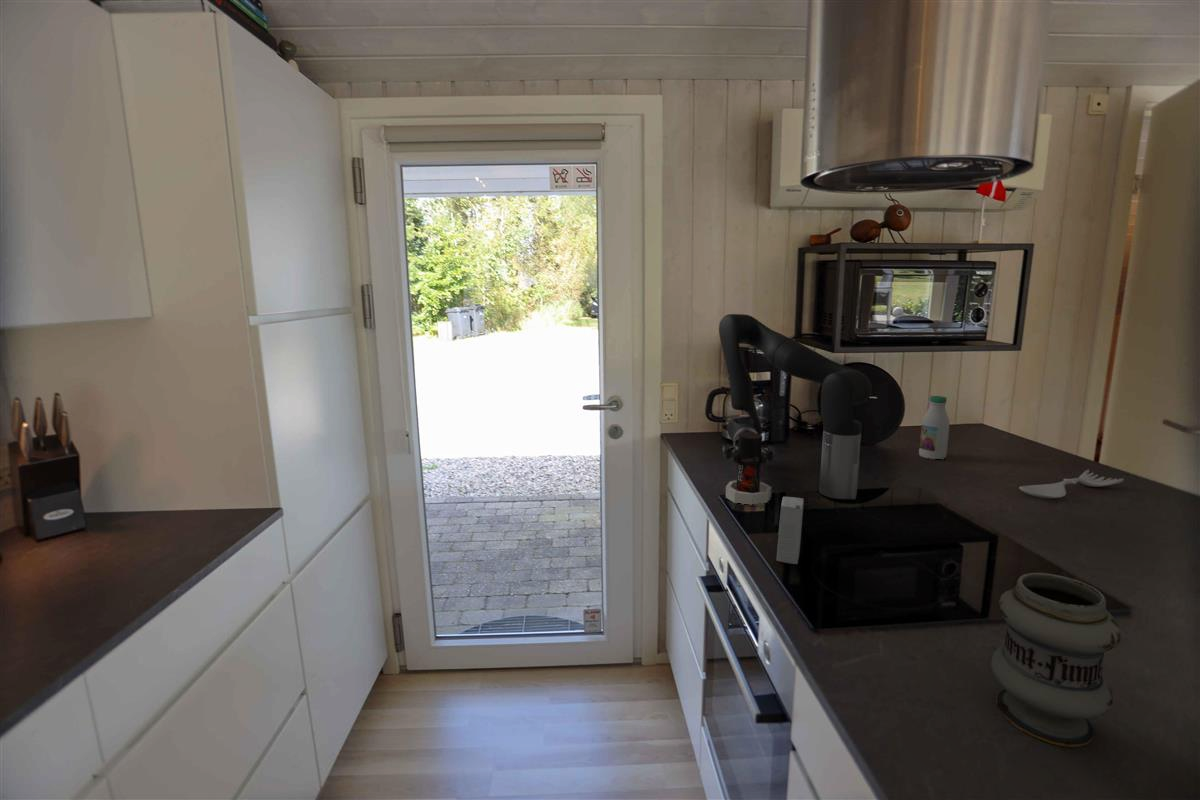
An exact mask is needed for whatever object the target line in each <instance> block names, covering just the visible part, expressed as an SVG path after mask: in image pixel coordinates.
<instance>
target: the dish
mask: <svg viewBox="0 0 1200 800" xmlns="http://www.w3.org/2000/svg"><path fill="white" fill-rule="evenodd" d="M736 488H737V480H730V481H729V482H728V483H727V485H726V486H725V498H726V499H728V500H729V501H731V502H733V503H734V504H737V503H741V504H740V505H744V504H750V505H752V504H759V503H767V502H768V501H769V500H770V501H771V499H772V486H771V485H769V484H767V483H764V482H763V481H760V490H759V492H757V493H747V492H741V491H737V489H736ZM770 498H771V499H770ZM770 501H769V502H770ZM769 502H768V503H769ZM750 505H749V506H750Z"/></svg>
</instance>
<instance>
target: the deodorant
mask: <svg viewBox="0 0 1200 800" xmlns="http://www.w3.org/2000/svg"><path fill="white" fill-rule="evenodd" d="M762 446H763V435H762V434H761V435H760V434H757V433H740V434H739V440H738V463H736V464H737V468H736V470H737V471H736V481H737V488H736V489H737V491H741V492H747V493H757V492H759V490H760V482H761V471H762V470H761V469H762V467H761V466H762V465H761V451H762Z"/></svg>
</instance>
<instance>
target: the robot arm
mask: <svg viewBox="0 0 1200 800" xmlns="http://www.w3.org/2000/svg"><path fill="white" fill-rule="evenodd" d="M718 335H719V340H720V344H721V349H722V353H723V357H724V361H725V365H726V369H727V374H728V379H729V391H730V402H731V404H730V405H731V408H732V409H733V410H736V411H743V412H746V413H747V414H748V415H749V416H747V417H746V416H744V417H743V416H742V417H734V418H731V419H730V420H729V421H728V423H727V429H726V430H727V434H728V436H729V438H730V440H731V441H732V442H733V444H732V446H731V445H729V444H728V443H722V454H723V457H724V458H725V459H727V460H729V459H730V458H731V459H732V461H733V462H735V464H738V440H739V434H740V433H757V434H760V435H762V434H763V426H762V423H761V420H760V418H759V414H758V412H757V407H756V404H755V396H754V395H755V394H754V384H753V380H752V377H751V375H750V372H749V371H748V369H747V368H746V365H745V364H744V361H743V359H742V356H741V351H740V344H743V345H749V346H751V347H754V348H755V349H758V350H759V351H761V352H762V353H763V354H764V356H765V358H766V360H767V361H768V362H769V363H770V364H771V365H772V366H773V367H775V368H777V369H778V370H780V371H781V372H783V373H785V374H788V375H789V376H792V377H796V378H799V379H802V380H806V381H811V382H815V383H817V384H819V385H821V390H820V391H821V393H820V418H821V421H822V422H821V423H822V426H823V432H822V440H821V442H822V443H821V444H822V446H821V460H820V473H819V484H818V485H819V486H818V487H819V488H818V489H819V491H818V492H819V494H821V495H822V496H824V497H828V498H830V499H837V500H857V492H858V481H859V469H860V468H859V467H860V451H861V438H862V422H861V421H859V420H857V419H855V418H854V414H853V412H854V411H853V409H854V406H857V405H861V404H863V403H865V402H867V401H868V400H869V399H870V398H871V396H872V393H873V386H872V383H871V381H870V379H869V377H867V375H865V374H864V372H861V371H860V370H857V369H854V368H852V367H849V366H847V365H844V364H841V363H838V362H836V361H833V360H831V359H830V358H828V357H826V356H824V355H823V354H821V353H818V352H817V351H815V350H813V349H811V348H809V347H808V346H805V345H804V344H803V343H801V342H798V341H796V340H795V339H792V338H790V337H788V336H786V335H785V334H782V333H779V332H777V331H775V330H773V329H771V328H770V327H768V326H767V325H765V324H764V323H762V322H761V321H759V320H758V319H757V318H755V317H753V315H749V314H743V313H742V314H740V313H730V314H729V313H728V314H726V315H723V317H722V318H721V319H720V321H719V325H718ZM774 452H775V446H774V445H770V446H768V447H764V446H763V445H762V451H761V466H763V465H765V464H767V463H768V461H769V462H772V461H773V460H774V455H775V453H774ZM767 460H768V461H767Z"/></svg>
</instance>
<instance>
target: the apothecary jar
mask: <svg viewBox="0 0 1200 800" xmlns="http://www.w3.org/2000/svg"><path fill="white" fill-rule="evenodd" d="M1106 607H1107V600H1106V598H1105V595H1104V594H1103V593H1102V592H1100V591H1099V590H1098V589H1096V588H1095V587H1093V586H1092V585H1090V584H1088V583H1085V582H1082V581H1079V580H1077V579H1074V578H1070V577H1066V576H1063V575H1060V574H1053V573H1045V572H1030V573H1029V572H1028V573H1025V574H1022V575H1021V576H1019V578H1018V579H1017V581H1016V584H1015V586H1014V587H1012V588H1009V589H1007V590H1006V591H1004V592H1003V593H1002V594H1001V596H999V599H998V610H999V613H1000V615H1001V617H1002V619H1003V620H1004V621H1005V622H1006V623H1007V624H1006V632H1005V640H1004V644H1002V645H1000V646H998V647H997V648H996V649H995V650H994V651H993V653H992V655H991V658H990V659H991V660H990V666H991V667H990V668H991V671H992V673H993V676H994V677H995V679H996V680H997V682H998V684H1000V685H1001V686H1002V688H1003V690H1001V691H999V692H998V693H997V694H996V698H995V705H996V707H998V709H1000V710H1001V711H1002V712H1003V713H1004V716H1003V717H1004V718H1005V720H1007V721H1008V722H1009V723H1010V724H1011V725H1012V726H1014V727H1016V729H1018V730H1019V731H1021V732H1023V733H1026V734H1027V735H1029V736H1031V737H1033V738H1036V739H1038V740H1039V741H1043V742H1045V743H1048V744H1051V745H1055V746H1060V747H1064V748H1065V747H1066V748H1067V747H1068V748H1079V747H1083V746H1087V745H1088V744H1090V743H1091V742H1092V741H1093V739H1094V730H1093V729H1094V728H1093V727H1092V725H1091V724H1090V723H1089V722H1090V721H1089V719H1095V718H1098V717H1100V716H1103V715H1104V714H1106V713H1107V712H1108V711H1110V709H1111V707H1112V706H1113V701H1114V695H1113V690H1112V687H1111V685H1110V683H1109V682H1108V680H1107V678H1106V677H1105V676H1104V675H1103V664H1104V655H1105V653H1106V652H1109V651H1111V650H1113V649H1114V648H1116V647H1117V646H1118V644H1119V643H1120V641H1121V638H1122V629H1121V628H1120V625H1119V623H1118V621H1117V620H1116V618H1115V617H1114V616H1113V615H1112V614H1111V613H1110V612H1109V611H1108V610H1107V608H1106Z"/></svg>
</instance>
